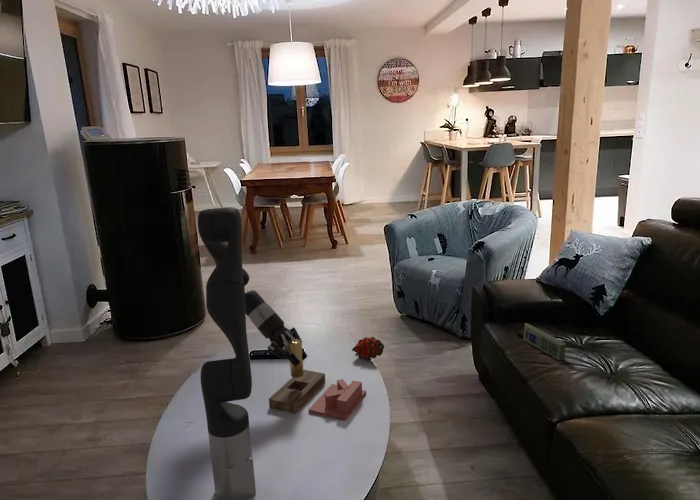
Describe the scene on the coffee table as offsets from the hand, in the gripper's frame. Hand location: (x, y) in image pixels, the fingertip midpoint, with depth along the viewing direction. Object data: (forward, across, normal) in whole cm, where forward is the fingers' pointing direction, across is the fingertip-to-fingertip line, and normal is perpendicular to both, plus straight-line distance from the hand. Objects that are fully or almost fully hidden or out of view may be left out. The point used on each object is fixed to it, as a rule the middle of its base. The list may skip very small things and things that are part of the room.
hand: (301, 361), depth 155 cm
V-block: (+16, 0, +1) cm, 16 cm away
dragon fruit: (+15, +32, +2) cm, 35 cm away
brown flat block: (+7, 0, +10) cm, 12 cm away
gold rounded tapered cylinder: (+2, 0, +5) cm, 5 cm away
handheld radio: (+55, +62, -38) cm, 91 cm away
